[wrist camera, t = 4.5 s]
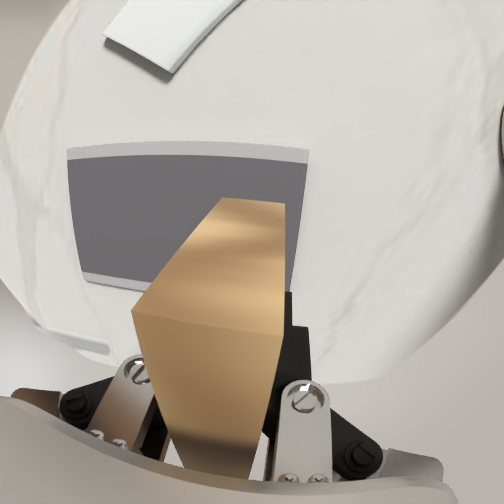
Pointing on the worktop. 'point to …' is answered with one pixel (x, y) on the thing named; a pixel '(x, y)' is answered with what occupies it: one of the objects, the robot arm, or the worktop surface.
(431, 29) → the worktop surface
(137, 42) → the external hard drive
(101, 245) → the mat
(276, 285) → the wooden block
